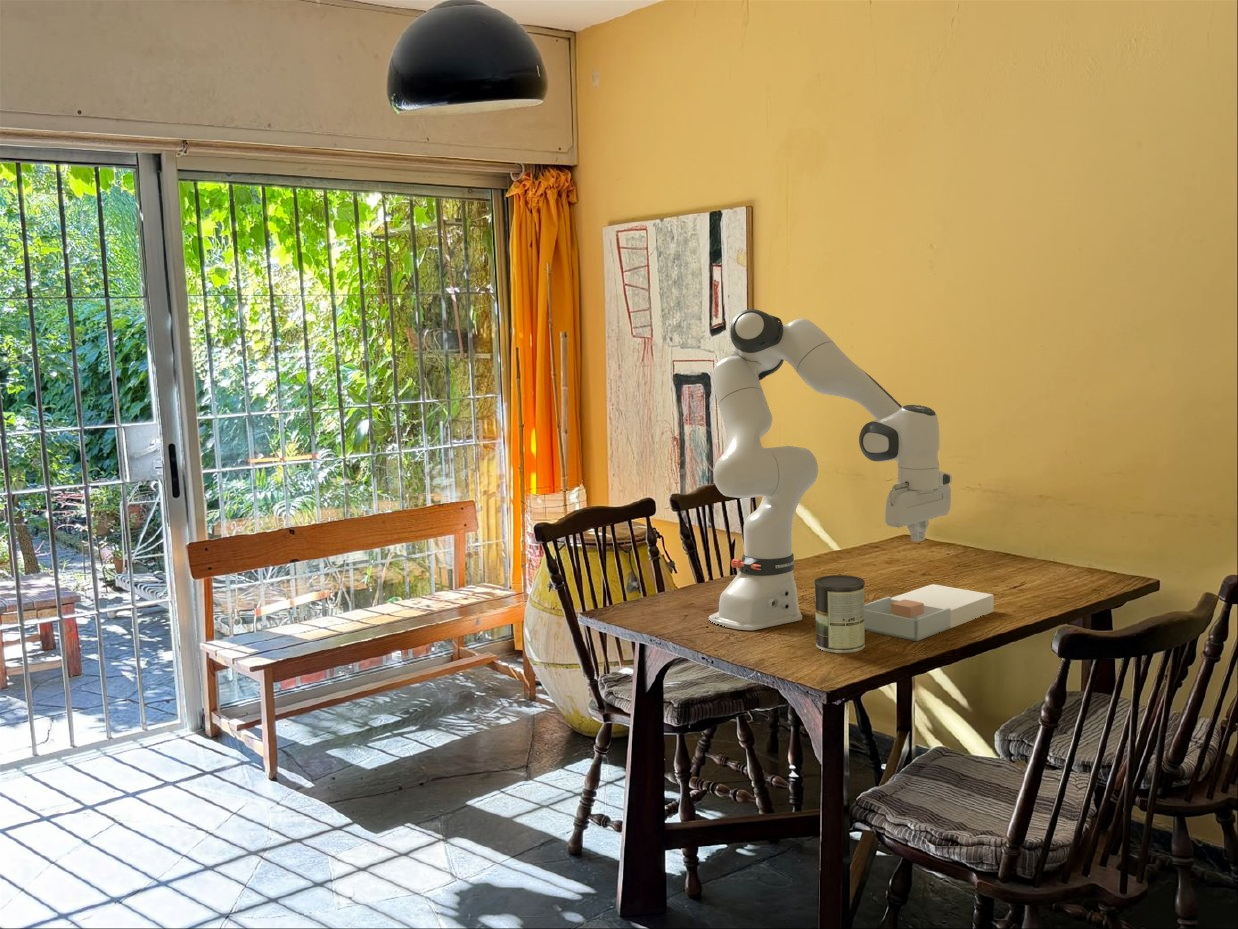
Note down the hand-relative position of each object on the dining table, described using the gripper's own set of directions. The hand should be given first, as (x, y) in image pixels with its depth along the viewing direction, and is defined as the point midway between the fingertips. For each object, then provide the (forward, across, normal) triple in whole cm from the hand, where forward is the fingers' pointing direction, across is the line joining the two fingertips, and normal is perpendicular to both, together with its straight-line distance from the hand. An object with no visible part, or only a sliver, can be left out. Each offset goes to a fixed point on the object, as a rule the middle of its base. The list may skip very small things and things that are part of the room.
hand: (917, 540), depth 251 cm
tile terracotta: (+16, -5, -1) cm, 16 cm away
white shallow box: (+18, +9, 0) cm, 21 cm away
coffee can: (+19, -26, +1) cm, 32 cm away
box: (+18, -6, 0) cm, 20 cm away
